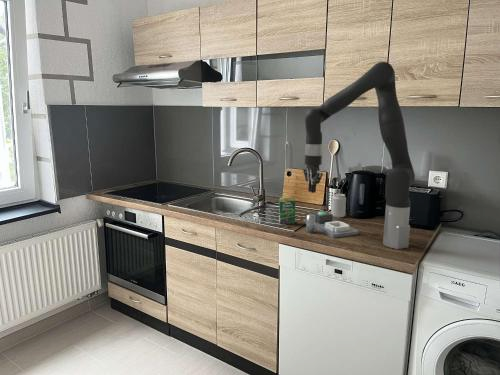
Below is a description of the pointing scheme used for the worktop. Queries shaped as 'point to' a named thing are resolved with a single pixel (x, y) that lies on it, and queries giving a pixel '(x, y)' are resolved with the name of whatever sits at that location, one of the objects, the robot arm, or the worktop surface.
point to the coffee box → (287, 210)
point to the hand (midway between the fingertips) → (311, 191)
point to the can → (338, 205)
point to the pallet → (332, 226)
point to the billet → (310, 223)
